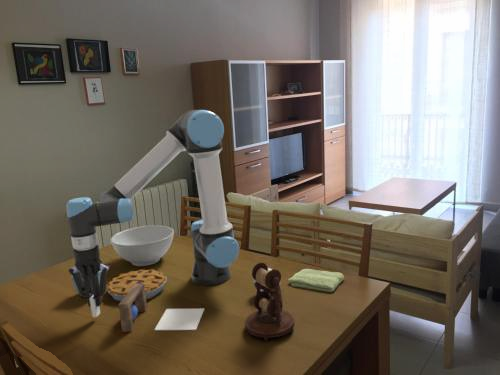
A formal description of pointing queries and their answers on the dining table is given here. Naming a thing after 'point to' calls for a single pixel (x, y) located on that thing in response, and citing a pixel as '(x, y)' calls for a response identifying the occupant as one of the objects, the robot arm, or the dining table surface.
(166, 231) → the decorative bowl
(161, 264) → the dining table surface
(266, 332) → the brown wooden tall piece
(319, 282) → the washcloth
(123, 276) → the pie
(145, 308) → the bridge
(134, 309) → the ball
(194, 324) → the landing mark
